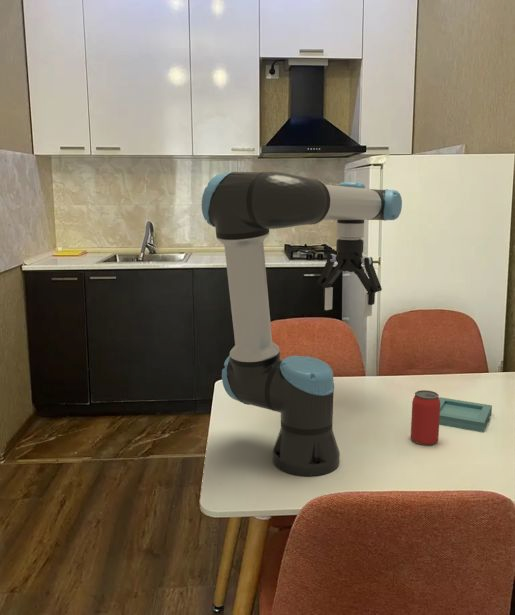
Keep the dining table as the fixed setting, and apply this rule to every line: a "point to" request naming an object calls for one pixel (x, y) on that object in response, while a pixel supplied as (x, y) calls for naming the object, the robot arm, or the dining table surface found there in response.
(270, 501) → the dining table surface
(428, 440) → the beer can
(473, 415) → the coaster
